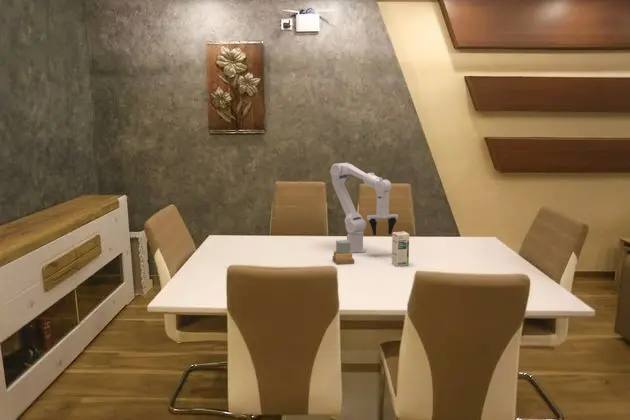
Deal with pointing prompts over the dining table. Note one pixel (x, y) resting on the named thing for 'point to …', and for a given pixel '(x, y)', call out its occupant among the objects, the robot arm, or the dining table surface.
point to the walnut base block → (343, 261)
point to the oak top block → (342, 256)
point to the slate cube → (343, 247)
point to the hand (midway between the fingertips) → (382, 234)
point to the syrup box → (400, 248)
